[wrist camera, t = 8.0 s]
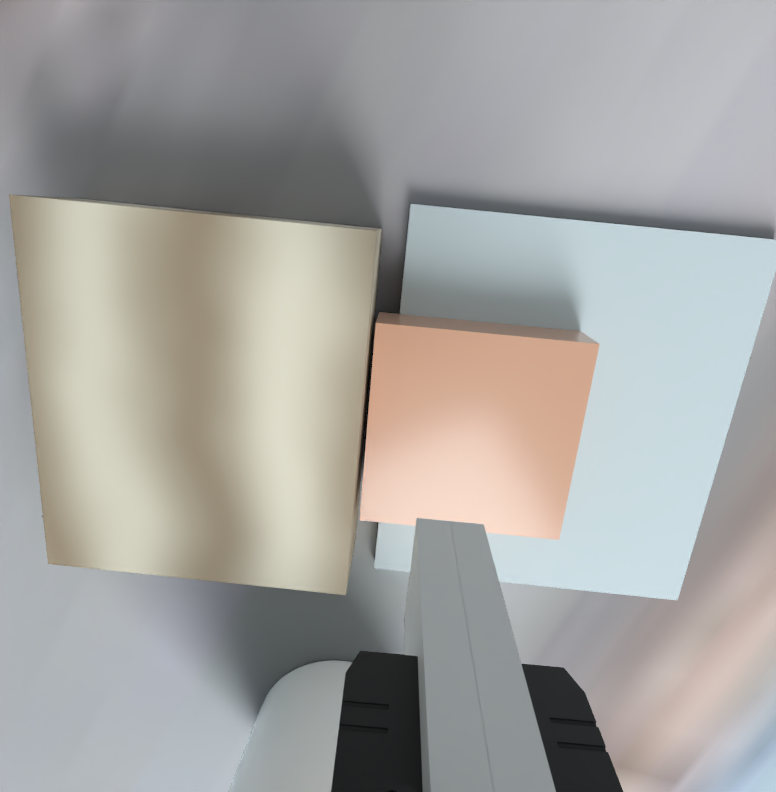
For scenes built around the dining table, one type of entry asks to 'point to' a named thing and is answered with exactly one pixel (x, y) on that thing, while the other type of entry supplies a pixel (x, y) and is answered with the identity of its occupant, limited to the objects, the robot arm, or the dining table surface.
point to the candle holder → (295, 733)
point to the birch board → (197, 388)
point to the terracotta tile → (474, 423)
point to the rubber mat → (606, 375)
